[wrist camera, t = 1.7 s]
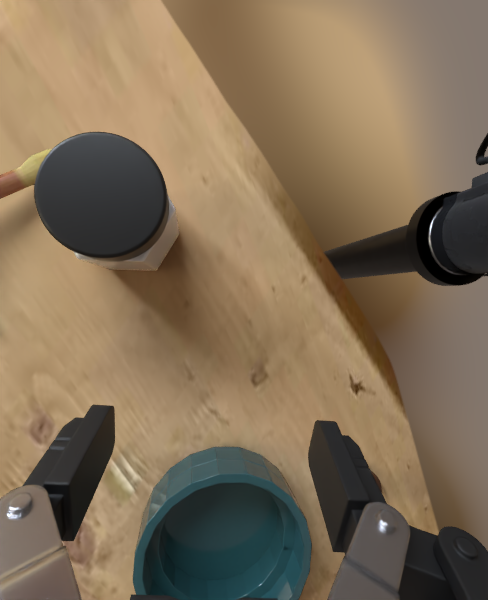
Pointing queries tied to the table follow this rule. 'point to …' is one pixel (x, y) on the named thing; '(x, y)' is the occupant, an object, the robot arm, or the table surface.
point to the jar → (106, 202)
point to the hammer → (21, 175)
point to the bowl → (222, 531)
